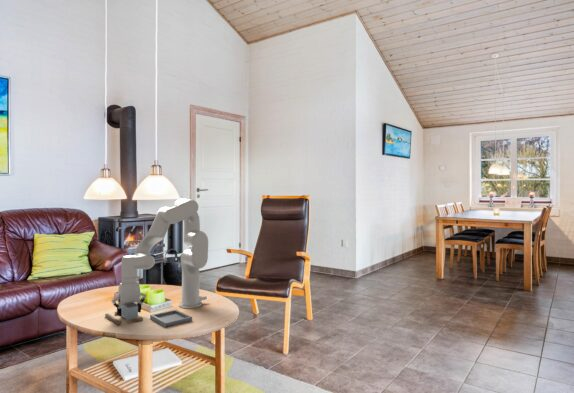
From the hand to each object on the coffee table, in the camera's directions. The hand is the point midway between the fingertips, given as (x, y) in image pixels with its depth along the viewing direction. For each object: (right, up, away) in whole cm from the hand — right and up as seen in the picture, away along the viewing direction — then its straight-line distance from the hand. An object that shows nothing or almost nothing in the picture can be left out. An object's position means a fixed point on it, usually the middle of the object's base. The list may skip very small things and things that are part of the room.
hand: (129, 313), depth 204 cm
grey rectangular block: (0, -2, 0) cm, 2 cm away
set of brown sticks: (-2, -2, -2) cm, 3 cm away
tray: (+22, -2, -3) cm, 22 cm away
